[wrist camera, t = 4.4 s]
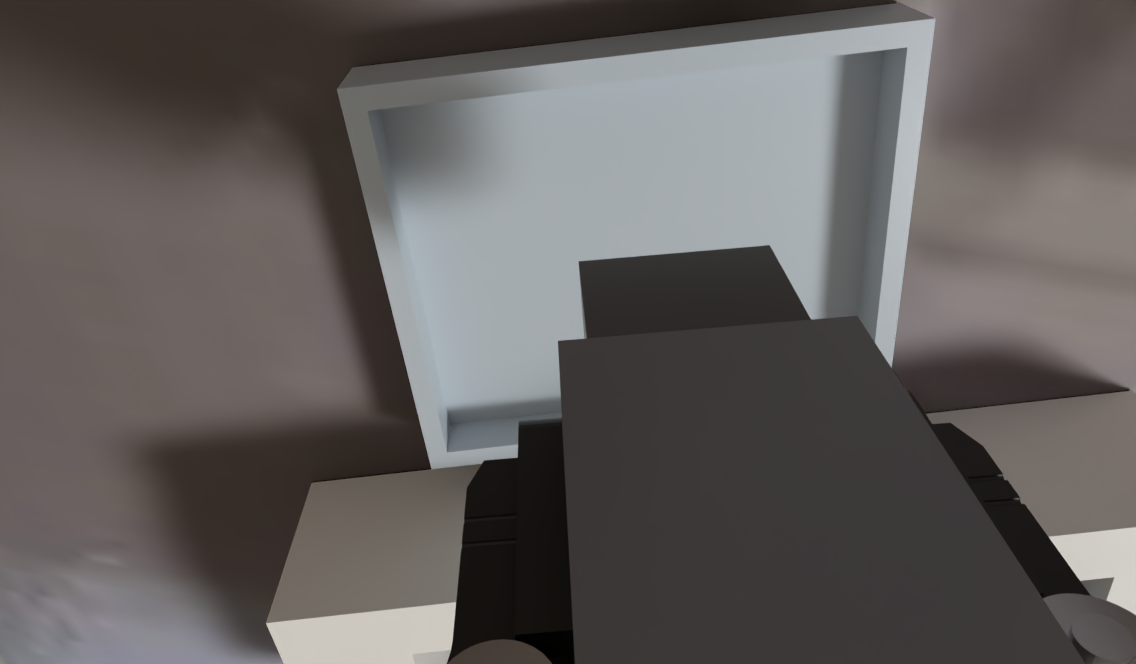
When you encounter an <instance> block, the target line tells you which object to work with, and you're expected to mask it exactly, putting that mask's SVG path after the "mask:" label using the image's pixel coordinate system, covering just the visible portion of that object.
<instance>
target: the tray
mask: <svg viewBox="0 0 1136 664" xmlns="http://www.w3.org/2000/svg"><path fill="white" fill-rule="evenodd" d="M934 26H935V18H933V17H931V16H929V15H926V14H924V13H922V12H919V11H917V10H915V9H912V8H910V7H908V6H906V5H903V4H901V3H894V4H886V5H877V6H869V7H860V8H852V9H843V10H835V11H826V12H818V13H810V14H801V15H793V16H784V17H776V18H767V19H759V20H750V21H742V22H733V23H725V24H716V25H708V26H700V27H691V28H683V29H674V30H666V31H657V32H649V33H640V34H632V35H623V36H615V37H606V38H598V39H590V40H581V41H573V42H564V43H556V44H547V45H539V46H530V47H522V48H513V49H505V50H496V51H488V52H480V53H471V54H463V55H454V56H446V57H437V58H429V59H420V60H412V61H403V62H395V63H386V64H378V65H370V66H361V67H353V68H352V69H351V70H350V72H349V73H348V74H347V76H346V77H345V79H344V80H343V81H342V83H341V84H340V85H339V87H338V88H337V92H338V96H339V100H340V104H341V108H342V112H343V116H344V120H345V124H346V128H347V132H348V136H349V140H350V144H351V148H352V152H353V156H354V160H355V164H356V168H357V172H358V176H359V180H360V184H361V188H362V192H363V196H364V200H365V205H366V209H367V213H368V217H369V221H370V225H371V229H372V233H373V237H374V241H375V245H376V249H377V253H378V257H379V261H380V265H381V269H382V273H383V277H384V281H385V285H386V289H387V293H388V297H389V301H390V305H391V309H392V313H393V317H394V321H395V325H396V329H397V333H398V337H399V341H400V345H401V349H402V353H403V357H404V361H405V365H406V369H407V373H408V377H409V381H410V385H411V389H412V393H413V397H414V401H415V405H416V409H417V413H418V417H419V421H420V425H421V429H422V433H423V437H424V441H425V445H426V449H427V453H428V457H429V461H430V465H431V469H438V468H447V467H456V466H465V465H474V464H482V463H483V461H484V460H495V459H507V458H518V425H519V421H526V420H538V419H550V418H562V410H561V391H560V372H559V353H558V341H562V340H574V339H584V328H583V315H582V301H581V288H580V275H579V262H578V261H588V260H600V259H612V258H624V257H635V256H647V255H659V254H671V253H683V252H695V251H706V250H718V249H730V248H742V247H754V246H766V245H770V247H771V249H772V250H773V252H774V254H775V256H776V258H777V259H778V261H779V263H780V265H781V266H782V268H783V270H784V272H785V274H786V275H787V277H788V279H789V281H790V283H791V284H792V286H793V288H794V290H795V292H796V293H797V295H798V297H799V299H800V300H801V302H802V304H803V306H804V308H805V309H806V311H807V313H808V315H809V317H810V318H811V320H812V319H824V318H836V317H848V316H858V318H859V319H860V321H861V322H862V324H863V325H864V327H865V328H866V330H867V331H868V333H869V334H870V336H871V337H872V339H873V340H874V342H875V344H876V345H877V347H878V348H879V350H880V351H881V353H882V354H883V356H884V357H885V359H886V360H887V362H888V363H889V365H890V366H891V368H892V361H893V353H894V345H895V337H896V329H897V321H898V313H899V305H900V297H901V289H902V282H903V274H904V266H905V258H906V250H907V242H908V234H909V226H910V218H911V210H912V202H913V194H914V186H915V178H916V170H917V162H918V154H919V146H920V138H921V130H922V122H923V114H924V106H925V98H926V90H927V82H928V74H929V66H930V58H931V50H932V42H933V34H934Z"/></svg>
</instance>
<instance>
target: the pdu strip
mask: <svg viewBox="0 0 1136 664" xmlns="http://www.w3.org/2000/svg"><path fill="white" fill-rule="evenodd" d="M926 415H927V417H928V418H929V420H930V421H931V423H932V424H940V423H952V424H953V425H954V426H956V427H957V428H959V429H960V430H961V431H963V432H964V433H966V434H967V435H968V436H970V437H971V438H973V439H974V440H975V441H977V442H978V443H980V444H981V445H983V446H984V448H985V449H986V451H987V452H988V453H989V455H990V456H991V458H992V459H993V460H994V462H995V463H996V465H997V466H998V467H999V469H1000V470H1001V472H1002V473H1003V477H1004V480H1008V481H1009V483H1010V484H1011V485H1012V487H1013V488H1014V490H1015V491H1016V492H1017V494H1018V495H1019V497H1020V502H1021V504H1025V505H1026V506H1027V508H1028V509H1029V510H1030V512H1031V513H1032V515H1033V516H1034V517H1035V519H1036V520H1037V522H1038V523H1039V524H1040V526H1041V527H1042V529H1043V530H1044V531H1045V533H1046V534H1047V536H1048V537H1049V538H1050V540H1051V541H1052V542H1053V544H1054V545H1055V547H1056V548H1057V549H1058V551H1059V552H1060V554H1061V555H1062V556H1063V558H1064V559H1065V561H1066V562H1067V563H1068V565H1069V566H1070V568H1071V569H1072V570H1073V572H1074V573H1075V574H1076V576H1077V577H1078V579H1079V580H1080V581H1081V583H1082V584H1083V586H1084V587H1085V588H1086V590H1087V591H1088V592H1089V594H1090V595H1091V596H1093V597H1097V598H1100V599H1104V600H1106V601H1109V602H1111V603H1114V604H1116V605H1118V606H1120V607H1122V608H1124V609H1126V610H1128V611H1130V612H1132V613H1133V614H1135V615H1136V394H1135V393H1134V392H1133V391H1124V392H1115V393H1107V394H1098V395H1089V396H1080V397H1071V398H1062V399H1053V400H1044V401H1035V402H1026V403H1018V404H1009V405H1000V406H991V407H982V408H973V409H964V410H955V411H946V412H937V413H929V414H926ZM481 465H482V464H475V465H466V466H457V467H448V468H439V469H430V470H421V471H412V472H403V473H395V474H386V475H377V476H368V477H359V478H350V479H341V480H332V481H323V482H314V483H311V486H310V489H309V492H308V495H307V498H306V501H305V505H304V508H303V511H302V514H301V517H300V520H299V523H298V526H297V529H296V532H295V535H294V538H293V541H292V545H291V548H290V551H289V554H288V557H287V560H286V563H285V566H284V569H283V572H282V575H281V578H280V581H279V584H278V588H277V591H276V594H275V597H274V600H273V603H272V606H271V609H270V612H269V615H268V618H267V621H266V625H267V627H268V629H269V631H270V634H271V636H272V638H273V640H274V643H275V645H276V647H277V649H278V652H279V654H280V656H281V658H282V661H283V663H284V664H446V663H447V661H448V658H449V655H450V653H451V647H452V642H453V631H454V620H455V609H456V599H457V588H458V577H459V566H460V556H461V549H462V534H463V524H464V513H465V502H466V491H467V487H468V485H469V483H470V482H471V480H472V479H473V477H474V476H475V474H476V472H477V471H478V469H479V468H480V466H481Z"/></svg>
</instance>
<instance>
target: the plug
mask: <svg viewBox="0 0 1136 664" xmlns="http://www.w3.org/2000/svg"><path fill="white" fill-rule="evenodd" d="M578 262H579V275H580V288H581V301H582V315H583V328H584V339H574V340H562V341H558V353H559V372H560V391H561V410H562V429H563V448H564V467H565V486H566V505H567V524H568V543H569V562H570V581H571V600H572V618H573V637H574V656H575V664H1085V662H1084V661H1083V659H1082V658H1081V656H1080V655H1079V653H1078V652H1077V650H1076V649H1075V647H1074V646H1073V644H1072V643H1071V641H1070V640H1069V638H1068V636H1067V635H1066V633H1065V632H1064V630H1063V629H1062V627H1061V626H1060V624H1059V623H1058V621H1057V620H1056V618H1055V617H1054V615H1053V614H1052V612H1051V611H1050V609H1049V607H1048V606H1047V604H1046V603H1045V601H1044V600H1043V598H1042V597H1041V595H1040V594H1039V592H1038V591H1037V589H1036V588H1035V586H1034V585H1033V583H1032V582H1031V580H1030V579H1029V577H1028V575H1027V574H1026V572H1025V571H1024V569H1023V568H1022V566H1021V565H1020V563H1019V562H1018V560H1017V559H1016V557H1015V556H1014V554H1013V553H1012V551H1011V550H1010V548H1009V546H1008V545H1007V543H1006V542H1005V540H1004V539H1003V537H1002V536H1001V534H1000V533H999V531H998V530H997V528H996V527H995V525H994V524H993V522H992V521H991V519H990V517H989V516H988V514H987V513H986V511H985V510H984V508H983V507H982V505H981V504H980V502H979V501H978V499H977V498H976V496H975V495H974V493H973V492H972V490H971V488H970V487H969V485H968V484H967V482H966V481H965V479H964V478H963V476H962V475H961V473H960V472H959V470H958V469H957V467H956V466H955V464H954V463H953V461H952V459H951V458H950V456H949V455H948V453H947V452H946V450H945V449H944V447H943V446H942V444H941V443H940V441H939V440H938V438H937V437H936V435H935V434H934V432H933V430H932V429H931V427H930V426H929V424H928V423H927V421H926V420H925V418H924V417H923V415H922V414H921V412H920V411H919V409H918V408H917V406H916V405H915V403H914V402H913V400H912V398H911V397H910V395H909V394H908V392H907V391H906V389H905V388H904V386H903V385H902V383H901V382H900V380H899V379H898V377H897V376H896V374H895V373H894V371H893V369H892V368H891V366H890V365H889V363H888V362H887V360H886V359H885V357H884V356H883V354H882V353H881V351H880V350H879V348H878V347H877V345H876V344H875V342H874V340H873V339H872V337H871V336H870V334H869V333H868V331H867V330H866V328H865V327H864V325H863V324H862V322H861V321H860V319H859V318H858V316H848V317H836V318H824V319H812V320H811V318H810V317H809V315H808V313H807V311H806V309H805V308H804V306H803V304H802V302H801V300H800V299H799V297H798V295H797V293H796V292H795V290H794V288H793V286H792V284H791V283H790V281H789V279H788V277H787V275H786V274H785V272H784V270H783V268H782V266H781V265H780V263H779V261H778V259H777V258H776V256H775V254H774V252H773V250H772V249H771V247H770V245H766V246H754V247H742V248H730V249H718V250H706V251H695V252H683V253H671V254H659V255H647V256H635V257H624V258H612V259H600V260H588V261H578Z"/></svg>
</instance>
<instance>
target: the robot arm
mask: <svg viewBox="0 0 1136 664" xmlns="http://www.w3.org/2000/svg"><path fill="white" fill-rule="evenodd" d="M906 391H907V390H906ZM907 392H908V394H909V395H910V397H911V398H912V400H913V402H914V403H915V405H916V406H917V408H918V409H919V411H920V412H921V414H922V415H923V417H924V418H925V420H926V421H927V423H928V424H929V426H930V427H931V429H932V430H933V432H934V434H935V435H936V437H937V438H938V440H939V441H940V443H941V444H942V446H943V447H944V449H945V450H946V452H947V453H948V455H949V456H950V458H951V459H952V461H953V463H954V464H955V466H956V467H957V469H958V470H959V472H960V473H961V475H962V476H963V478H964V479H965V481H966V482H967V484H968V485H969V487H970V488H971V490H972V492H973V493H974V495H975V496H976V498H977V499H978V501H979V502H980V504H981V505H982V507H983V508H984V510H985V511H986V513H987V514H988V516H989V517H990V519H991V521H992V522H993V524H994V525H995V527H996V528H997V530H998V531H999V533H1000V534H1001V536H1002V537H1003V539H1004V540H1005V542H1006V543H1007V545H1008V546H1009V548H1010V550H1011V551H1012V553H1013V554H1014V556H1015V557H1016V559H1017V560H1018V562H1019V563H1020V565H1021V566H1022V568H1023V569H1024V571H1025V572H1026V574H1027V575H1028V577H1029V579H1030V580H1031V582H1032V583H1033V585H1034V586H1035V588H1036V589H1037V591H1038V592H1039V594H1040V595H1041V597H1042V598H1043V600H1044V601H1045V603H1046V604H1047V606H1048V607H1049V609H1050V611H1051V612H1052V614H1053V615H1054V617H1055V618H1056V620H1057V621H1058V623H1059V624H1060V626H1061V627H1062V629H1063V630H1064V632H1065V633H1066V635H1067V636H1068V638H1069V640H1070V641H1071V643H1072V644H1073V646H1074V647H1075V649H1076V650H1077V652H1078V653H1079V655H1080V656H1081V658H1082V659H1083V661H1084V662H1085V664H1136V615H1135V614H1133V613H1132V612H1130V611H1128V610H1126V609H1124V608H1122V607H1120V606H1118V605H1116V604H1114V603H1111V602H1109V601H1106V600H1104V599H1100V598H1097V597H1093V596H1091V595H1090V594H1089V592H1088V591H1087V590H1086V588H1085V587H1084V586H1083V584H1082V583H1081V581H1080V580H1079V579H1078V577H1077V576H1076V574H1075V573H1074V572H1073V570H1072V569H1071V568H1070V566H1069V565H1068V563H1067V562H1066V561H1065V559H1064V558H1063V556H1062V555H1061V554H1060V552H1059V551H1058V549H1057V548H1056V547H1055V545H1054V544H1053V542H1052V541H1051V540H1050V538H1049V537H1048V536H1047V534H1046V533H1045V531H1044V530H1043V529H1042V527H1041V526H1040V524H1039V523H1038V522H1037V520H1036V519H1035V517H1034V516H1033V515H1032V513H1031V512H1030V510H1029V509H1028V508H1027V506H1026V505H1025V504H1021V502H1020V497H1019V495H1018V494H1017V492H1016V491H1015V490H1014V488H1013V487H1012V485H1011V484H1010V483H1009V481H1008V480H1004V477H1003V473H1002V472H1001V470H1000V469H999V467H998V466H997V465H996V463H995V462H994V460H993V459H992V458H991V456H990V455H989V453H988V452H987V451H986V449H985V448H984V446H983V445H981V444H980V443H978V442H977V441H975V440H974V439H973V438H971V437H970V436H968V435H967V434H966V433H964V432H963V431H961V430H960V429H959V428H957V427H956V426H954V425H953V424H952V423H940V424H932V423H931V421H930V420H929V418H928V417H927V415H926V414H925V412H924V411H923V409H922V408H921V406H920V405H919V403H918V402H917V400H916V399H915V397H914V396H913V395H912V393H910V392H909V391H907ZM446 664H575V656H574V637H573V618H572V600H571V581H570V562H569V543H568V524H567V505H566V486H565V467H564V448H563V429H562V418H550V419H538V420H526V421H519V425H518V458H507V459H495V460H484V461H483V463H482V465H481V466H480V468H479V469H478V471H477V472H476V474H475V476H474V477H473V479H472V480H471V482H470V483H469V485H468V487H467V491H466V502H465V513H464V524H463V534H462V549H461V556H460V566H459V577H458V588H457V599H456V609H455V620H454V631H453V642H452V647H451V653H450V655H449V658H448V661H447V663H446Z"/></svg>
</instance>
